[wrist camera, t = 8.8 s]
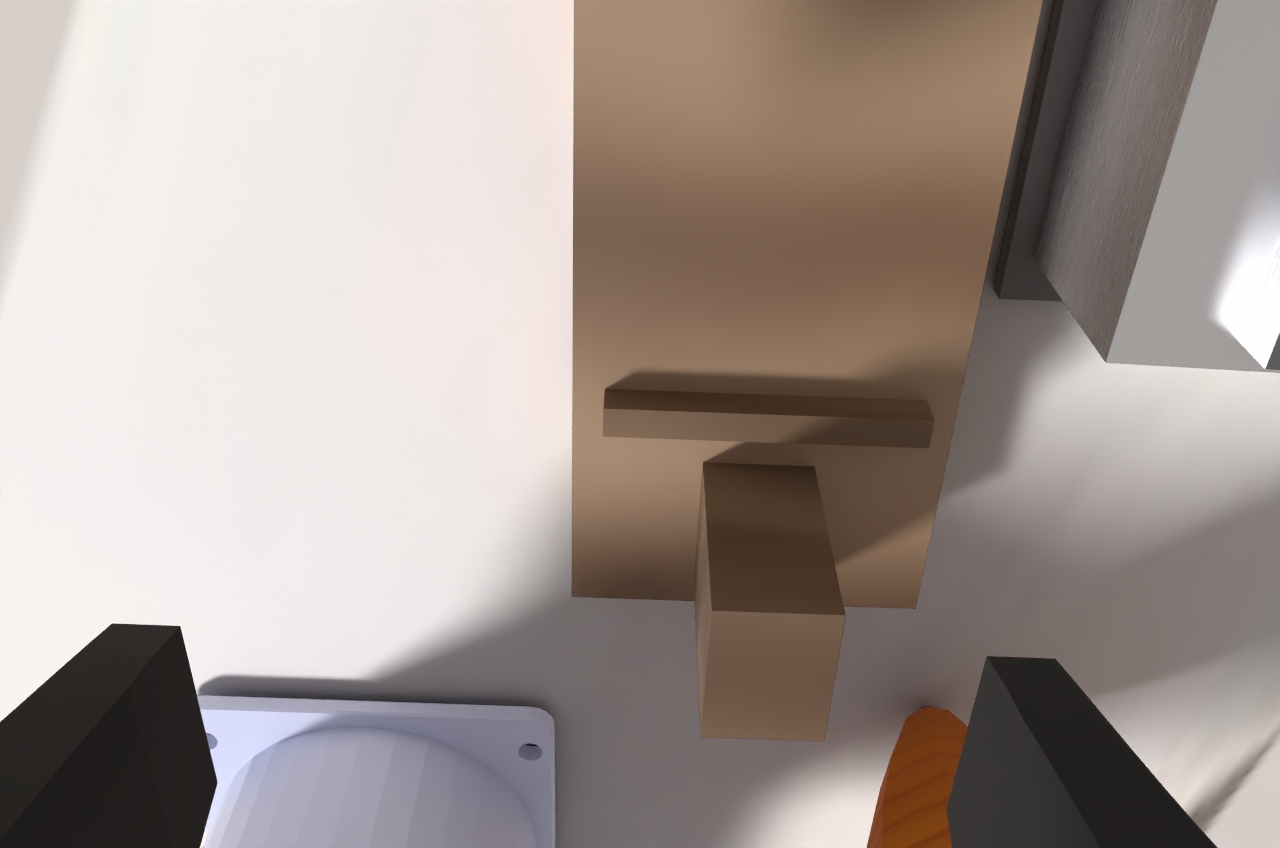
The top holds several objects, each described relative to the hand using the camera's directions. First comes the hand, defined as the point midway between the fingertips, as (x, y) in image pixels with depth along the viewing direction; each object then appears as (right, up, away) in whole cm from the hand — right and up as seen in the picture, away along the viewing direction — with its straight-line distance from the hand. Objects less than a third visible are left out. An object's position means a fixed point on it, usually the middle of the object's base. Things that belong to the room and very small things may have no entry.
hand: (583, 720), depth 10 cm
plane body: (+3, +6, +8) cm, 11 cm away
